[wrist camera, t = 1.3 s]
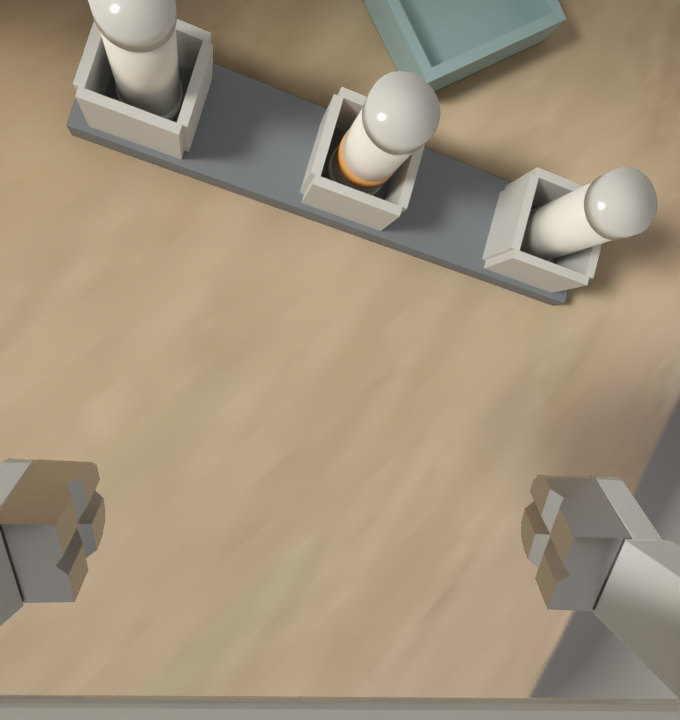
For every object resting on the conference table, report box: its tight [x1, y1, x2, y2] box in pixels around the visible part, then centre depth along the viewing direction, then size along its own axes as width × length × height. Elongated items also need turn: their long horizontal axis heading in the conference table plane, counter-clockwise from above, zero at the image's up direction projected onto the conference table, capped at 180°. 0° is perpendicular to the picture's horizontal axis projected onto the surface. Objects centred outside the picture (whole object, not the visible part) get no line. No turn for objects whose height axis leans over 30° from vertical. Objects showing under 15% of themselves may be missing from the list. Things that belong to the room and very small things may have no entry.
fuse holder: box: [67, 19, 602, 305], centre depth 38 cm, size 7×35×6 cm, turn 74°
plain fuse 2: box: [520, 167, 657, 261], centre depth 37 cm, size 4×4×10 cm
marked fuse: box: [326, 71, 440, 196], centre depth 34 cm, size 4×4×10 cm
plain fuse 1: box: [88, 0, 183, 121], centre depth 31 cm, size 4×4×10 cm
